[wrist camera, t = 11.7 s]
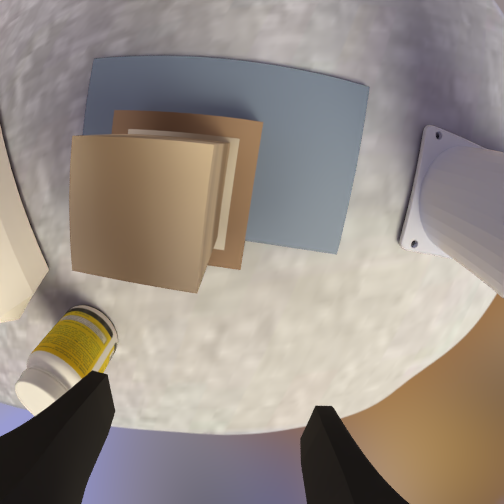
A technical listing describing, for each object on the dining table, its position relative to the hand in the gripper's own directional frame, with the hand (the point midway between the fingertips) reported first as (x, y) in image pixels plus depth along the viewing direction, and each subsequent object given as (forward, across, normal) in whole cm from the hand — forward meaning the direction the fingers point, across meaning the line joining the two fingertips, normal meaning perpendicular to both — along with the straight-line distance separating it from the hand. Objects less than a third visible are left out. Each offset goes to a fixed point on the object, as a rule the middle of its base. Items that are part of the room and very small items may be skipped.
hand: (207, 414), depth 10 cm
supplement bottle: (+11, +10, +6) cm, 16 cm away
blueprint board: (+10, +2, -8) cm, 13 cm away
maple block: (+7, +3, -6) cm, 10 cm away
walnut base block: (+10, +3, -6) cm, 12 cm away
